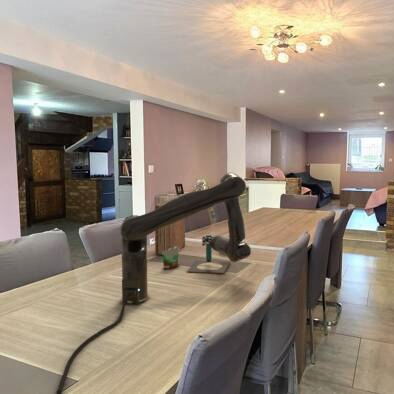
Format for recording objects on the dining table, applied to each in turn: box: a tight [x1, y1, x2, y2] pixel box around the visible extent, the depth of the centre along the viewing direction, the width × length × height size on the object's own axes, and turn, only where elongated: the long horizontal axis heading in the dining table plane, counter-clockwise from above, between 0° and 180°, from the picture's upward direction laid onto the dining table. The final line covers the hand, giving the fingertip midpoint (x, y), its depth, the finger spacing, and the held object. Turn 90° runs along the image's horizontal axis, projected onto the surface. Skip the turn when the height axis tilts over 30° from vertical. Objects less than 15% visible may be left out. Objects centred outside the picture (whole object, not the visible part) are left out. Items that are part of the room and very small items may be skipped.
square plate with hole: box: [187, 260, 231, 275], centre depth 175 cm, size 18×18×1 cm
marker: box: [205, 234, 213, 262], centre depth 176 cm, size 3×3×14 cm
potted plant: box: [161, 245, 181, 270], centre depth 175 cm, size 12×6×10 cm, turn 168°
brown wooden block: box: [154, 200, 186, 256], centre depth 207 cm, size 25×9×30 cm, turn 174°
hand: (206, 238), depth 178 cm, fingers closed on marker, 2 cm apart
